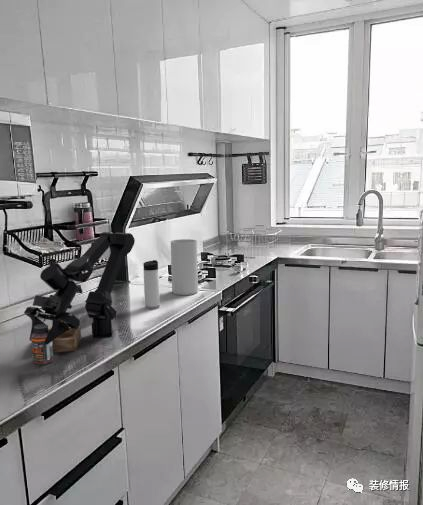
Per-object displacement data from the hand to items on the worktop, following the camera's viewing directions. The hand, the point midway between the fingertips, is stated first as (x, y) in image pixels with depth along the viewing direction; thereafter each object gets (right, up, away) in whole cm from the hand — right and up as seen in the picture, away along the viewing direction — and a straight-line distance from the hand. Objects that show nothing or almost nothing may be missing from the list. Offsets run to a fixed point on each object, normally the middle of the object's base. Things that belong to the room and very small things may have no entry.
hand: (38, 342), depth 138 cm
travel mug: (+27, +3, +60) cm, 66 cm away
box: (+1, -4, +16) cm, 17 cm away
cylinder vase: (+39, +8, +85) cm, 93 cm away
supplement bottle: (+1, -6, +2) cm, 7 cm away
